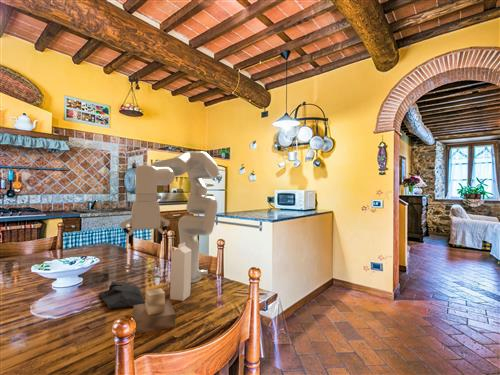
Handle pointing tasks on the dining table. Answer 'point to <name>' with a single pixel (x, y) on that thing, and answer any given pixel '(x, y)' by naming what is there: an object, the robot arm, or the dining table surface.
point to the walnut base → (153, 318)
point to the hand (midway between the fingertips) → (145, 244)
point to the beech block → (155, 301)
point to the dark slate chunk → (122, 295)
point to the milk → (180, 273)
